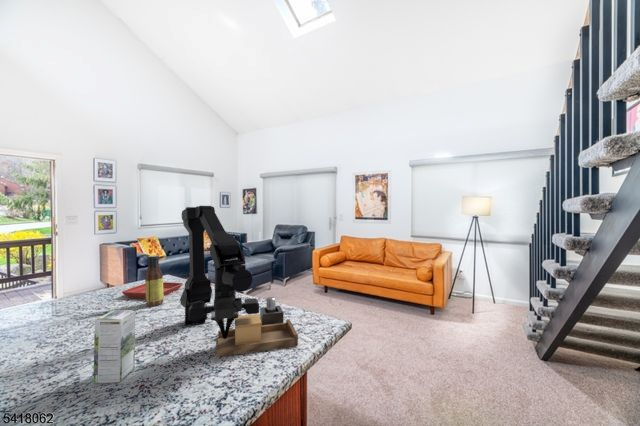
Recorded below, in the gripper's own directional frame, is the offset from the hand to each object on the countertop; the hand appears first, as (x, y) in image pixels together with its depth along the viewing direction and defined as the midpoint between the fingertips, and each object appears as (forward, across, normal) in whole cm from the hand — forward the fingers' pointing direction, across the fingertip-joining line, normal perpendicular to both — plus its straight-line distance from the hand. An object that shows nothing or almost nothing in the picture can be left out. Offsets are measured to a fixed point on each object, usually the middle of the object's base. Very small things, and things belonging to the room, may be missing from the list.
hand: (225, 338), depth 80 cm
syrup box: (+2, -24, -8) cm, 25 cm away
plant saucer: (+3, -32, +62) cm, 70 cm away
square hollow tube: (+2, +15, +12) cm, 19 cm away
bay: (+2, +9, 0) cm, 9 cm away
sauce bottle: (+2, -28, +45) cm, 53 cm away
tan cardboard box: (+2, +6, 0) cm, 7 cm away
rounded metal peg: (0, +15, +12) cm, 19 cm away
